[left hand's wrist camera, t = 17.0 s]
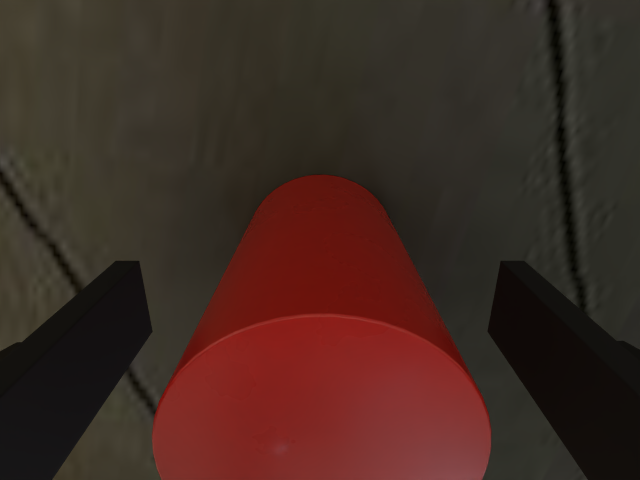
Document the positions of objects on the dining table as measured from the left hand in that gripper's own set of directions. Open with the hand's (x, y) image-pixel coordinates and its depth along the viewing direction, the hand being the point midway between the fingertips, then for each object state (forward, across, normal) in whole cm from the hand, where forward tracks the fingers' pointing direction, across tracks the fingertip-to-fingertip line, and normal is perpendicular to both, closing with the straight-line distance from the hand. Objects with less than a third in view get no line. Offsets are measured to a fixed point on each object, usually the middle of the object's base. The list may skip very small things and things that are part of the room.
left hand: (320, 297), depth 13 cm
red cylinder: (+4, 0, 0) cm, 4 cm away
